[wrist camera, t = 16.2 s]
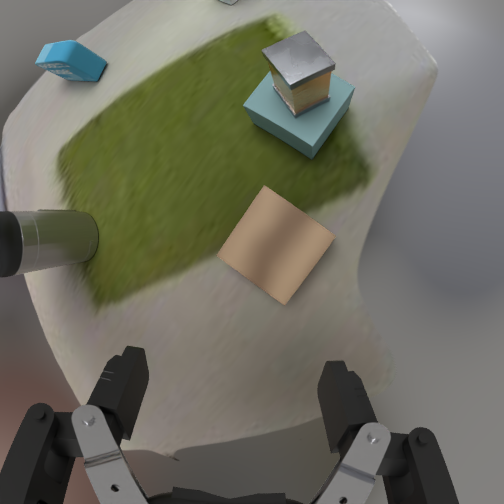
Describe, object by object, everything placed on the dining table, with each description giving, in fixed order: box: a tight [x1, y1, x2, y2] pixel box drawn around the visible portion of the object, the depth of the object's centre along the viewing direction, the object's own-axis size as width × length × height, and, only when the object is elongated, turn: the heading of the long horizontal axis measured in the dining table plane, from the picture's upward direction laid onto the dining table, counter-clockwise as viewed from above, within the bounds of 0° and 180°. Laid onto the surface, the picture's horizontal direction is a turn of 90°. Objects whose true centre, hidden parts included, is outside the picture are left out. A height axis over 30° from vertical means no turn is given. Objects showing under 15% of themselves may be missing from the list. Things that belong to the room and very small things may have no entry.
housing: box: [262, 31, 335, 118], centre depth 26 cm, size 5×5×9 cm
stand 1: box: [243, 71, 355, 159], centre depth 34 cm, size 10×10×7 cm
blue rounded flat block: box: [35, 40, 107, 81], centre depth 38 cm, size 12×4×12 cm, turn 69°
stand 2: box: [216, 185, 336, 306], centre depth 36 cm, size 10×10×7 cm
